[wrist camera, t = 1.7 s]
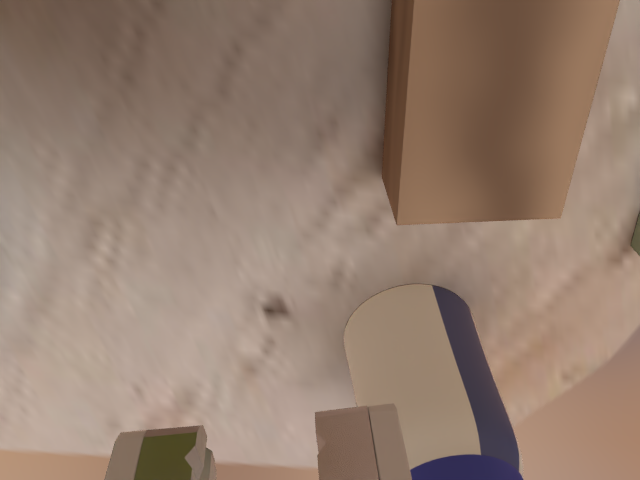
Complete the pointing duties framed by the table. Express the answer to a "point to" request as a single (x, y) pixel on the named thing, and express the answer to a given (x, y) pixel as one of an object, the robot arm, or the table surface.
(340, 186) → the table surface
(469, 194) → the walnut block
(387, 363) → the water bottle
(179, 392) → the table surface
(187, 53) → the table surface
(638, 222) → the green board
